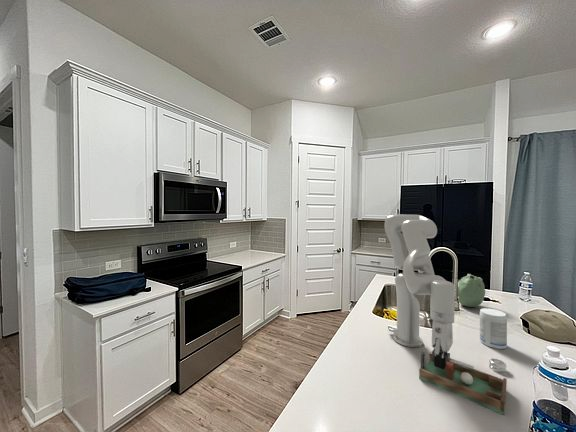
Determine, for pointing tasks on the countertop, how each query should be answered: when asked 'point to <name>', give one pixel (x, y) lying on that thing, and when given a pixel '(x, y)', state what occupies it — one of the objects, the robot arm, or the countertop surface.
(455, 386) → the pitch
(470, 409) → the countertop surface
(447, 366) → the multicoloured piece
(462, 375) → the ball
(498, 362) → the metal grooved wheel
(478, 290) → the cabbage
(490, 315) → the supplement tub
